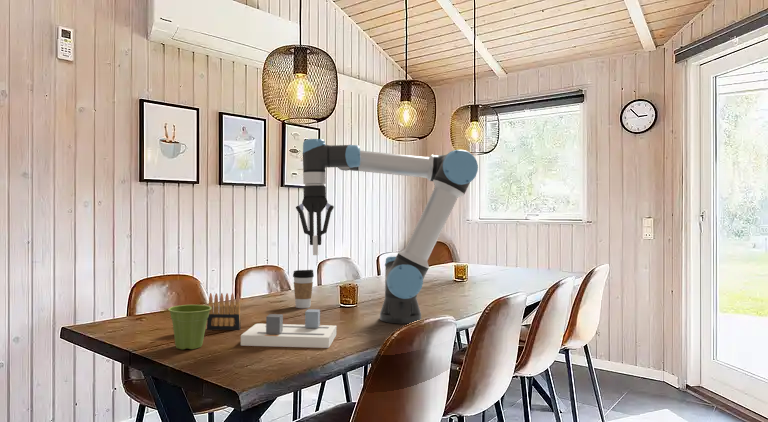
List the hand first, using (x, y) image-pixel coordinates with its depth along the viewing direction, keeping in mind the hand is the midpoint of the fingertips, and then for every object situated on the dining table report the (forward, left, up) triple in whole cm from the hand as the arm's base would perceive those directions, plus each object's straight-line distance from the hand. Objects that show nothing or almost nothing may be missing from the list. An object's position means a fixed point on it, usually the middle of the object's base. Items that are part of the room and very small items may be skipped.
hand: (315, 254), depth 185 cm
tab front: (+8, +23, -21) cm, 32 cm away
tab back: (-2, +14, -21) cm, 25 cm away
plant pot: (+31, +29, -25) cm, 49 cm away
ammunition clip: (+29, +6, -25) cm, 39 cm away
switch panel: (+4, +18, -25) cm, 31 cm away
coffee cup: (+11, -36, -25) cm, 45 cm away
